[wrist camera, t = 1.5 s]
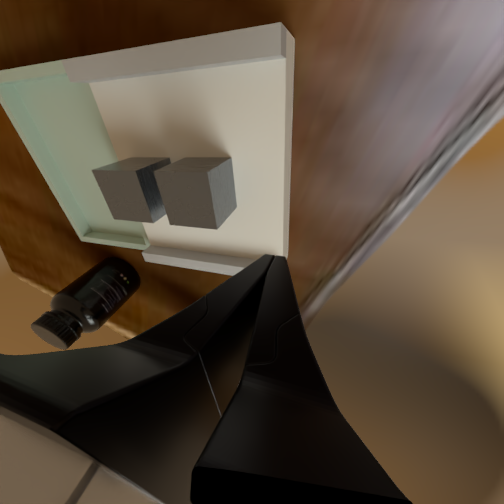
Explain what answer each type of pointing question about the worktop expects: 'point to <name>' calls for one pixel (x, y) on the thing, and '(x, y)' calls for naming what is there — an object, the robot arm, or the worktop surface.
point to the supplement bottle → (87, 302)
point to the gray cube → (132, 188)
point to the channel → (207, 132)
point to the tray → (67, 147)
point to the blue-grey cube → (198, 191)
